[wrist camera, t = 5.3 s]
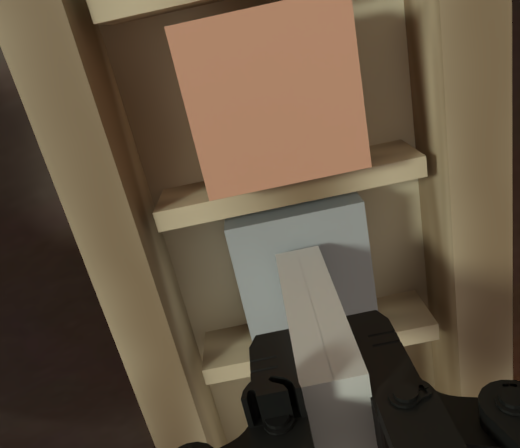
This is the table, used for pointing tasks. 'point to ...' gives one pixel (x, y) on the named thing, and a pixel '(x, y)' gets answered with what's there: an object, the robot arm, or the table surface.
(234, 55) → the key terracotta
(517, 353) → the table surface
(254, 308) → the key slate
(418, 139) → the wooden compartment tray
